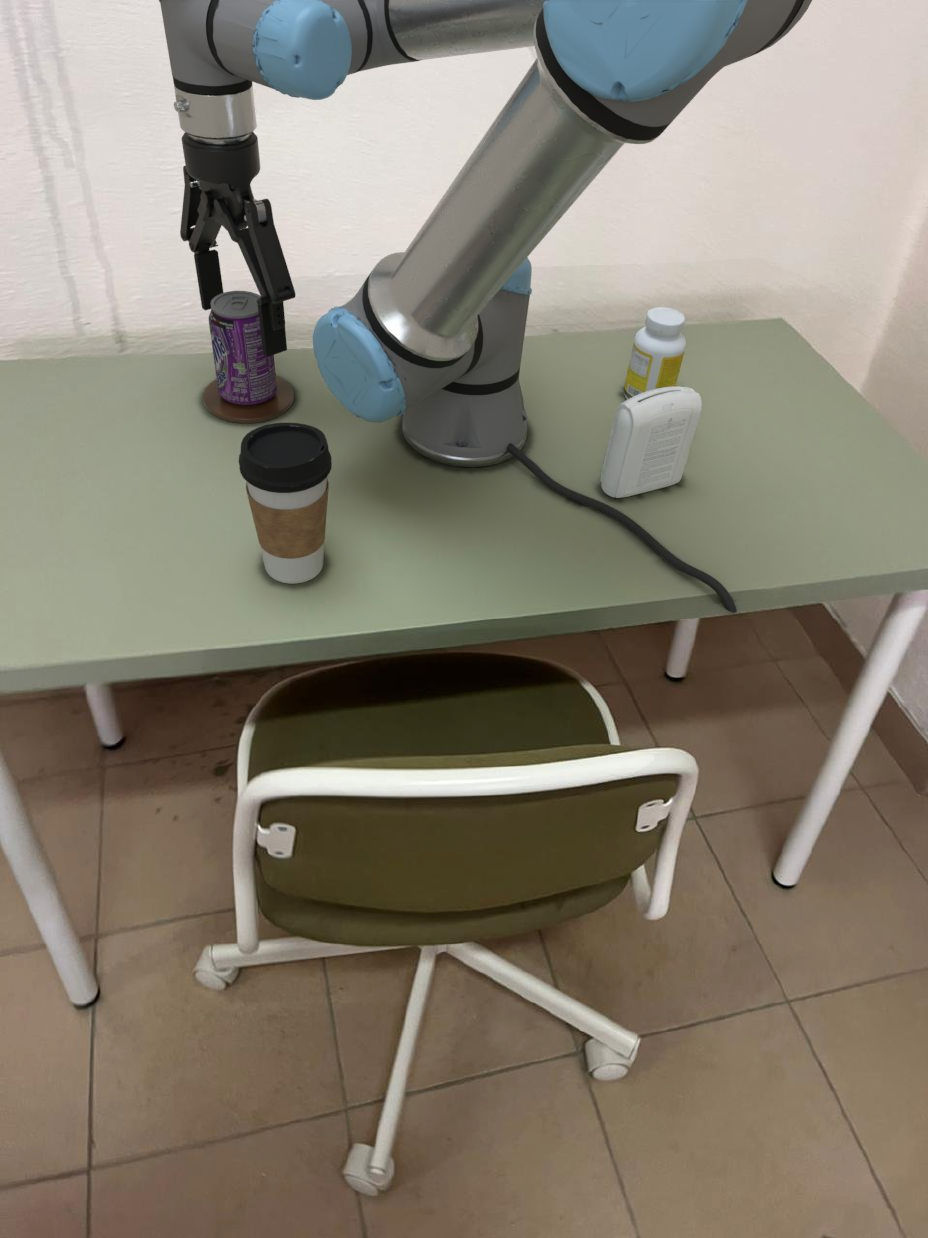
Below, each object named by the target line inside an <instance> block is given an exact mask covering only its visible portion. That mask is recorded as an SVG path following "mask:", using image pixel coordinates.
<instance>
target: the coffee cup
mask: <svg viewBox="0 0 928 1238" xmlns="http://www.w3.org/2000/svg"><path fill="white" fill-rule="evenodd" d="M332 462H333V461H332V455H331V452H330V447H329V443H328V440H327V437H326V435H325V433H324V432H323V431H322V430H321V429H319V428H318V427H315V426H312V425H309V424H305V423H299V422H273V423H267V424H264V425H260V426H259V427H255V428H254V429H252V430H250V431H249V432H248V433H247V434H246V435H245V436H244V437H243V438H242V440H241V442H240V453H239V456H238V465H239V473H240V475H241V476H242V479H244V480H245V481H246V482H245V491H246V495H247V499H248V503H249V507H250V510H251V511H250V512H251V515H252V519H253V523H254V528H255V531H256V536H257V540H258V544H259V546H260V551H261V555H262V560H263V565H264V569H265V572H266V573H267V575H269V577H270V578H271V579H273V580H274V581H277V582H279V583H282V584H290V585H292V584H294V585H295V584H302V583H306V582H308V581H310V580H313V579H314V578H316V577H317V576H318V575H319V574H320V573H321V571H322V570H323V567H324V557H325V556H324V555H325V539H326V530H327V529H326V526H327V514H328V500H329V488H330V487H329V486H330V482H329V479H328V476H329V475H330V473H331V471H332V465H333V463H332Z"/></svg>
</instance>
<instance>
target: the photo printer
mask: <svg viewBox="0 0 928 1238" xmlns="http://www.w3.org/2000/svg"><path fill="white" fill-rule="evenodd" d="M702 412H703V402H702V397H701V395H700V393H698V392H696V391H695V390H694V388H691V387H687V386H678V385H676V386H675V387H663V388H658V389H653V390H650V391H647V392H644V393H641V394H638V395H636V396H634V397H632V398H630V399H628V400H627V399H626V400H624V401H623V402H621V403H620V404H619V405H618V406H617V408H616V409H615V412H614V416H613V420H612V425H611V429H610V433H609V437H608V441H607V446H606V451H605V454H604V459H603V463H602V468H601V473H600V479H599V481H600V482H601V483H600V487H601V490H602V491H603V492H604V493H605V494H606V495H607V496H609V497H610V498H611V497H612V498H616V499H622V498H627V497H631V496H637V495H639V494H644V493H648V492H651V491H655V490H659V489H663V488H666V487H670V486H673V485H676V484H678V483H680V481H681V480H682V478H683V476H684V472H685V469H686V466H687V465H686V464H687V461H688V458H689V455H690V451H691V448H692V445H693V442H694V439H695V436H696V432H697V429H698V425H699V423H700V419H701V416H702Z"/></svg>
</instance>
